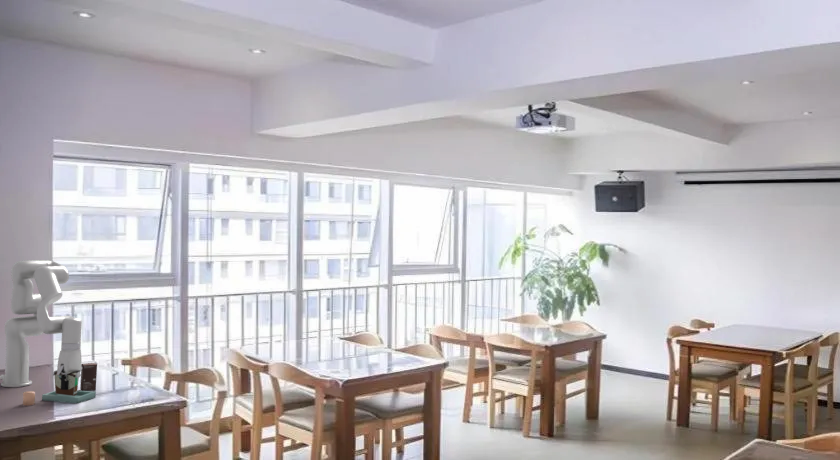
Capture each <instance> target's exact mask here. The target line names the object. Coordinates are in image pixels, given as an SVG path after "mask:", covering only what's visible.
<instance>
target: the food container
mask: <svg viewBox="0 0 840 460" xmlns="http://www.w3.org/2000/svg"><path fill="white" fill-rule="evenodd" d="M57 373H58V372H57V369H56V370H54V371H53V375H52V376H53V377H54V389H55V390H54V391H55V393H56V394H60V395H68V396H75V395H77V390H78V388H79V378H81V372H79V370H78V371H77V372H73V373H69V375H68V381H69V382H68V390H61V380H60V378H59V377H58V376H57ZM64 373H65V372H64ZM64 376H66V375H64Z"/></svg>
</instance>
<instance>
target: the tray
mask: <svg viewBox="0 0 840 460" xmlns="http://www.w3.org/2000/svg"><path fill="white" fill-rule="evenodd" d="M96 393H97V392H96V391H91V390H88V391H81V390H78V389H77V395H75V396H68V395H60V394H56V393H55V390H53V391H49V392H47V393H43V394H41V395H42V396H41V401H46V402H55V403H56V402H58V403H68V404H69V403H70V404H71V403H72V404H80V403H83V402H86V401H89V400H91V399H94V398H96V395H97V394H96Z"/></svg>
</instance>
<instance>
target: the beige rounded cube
mask: <svg viewBox="0 0 840 460" xmlns="http://www.w3.org/2000/svg"><path fill="white" fill-rule="evenodd" d="M35 404H36V391H33V390H29V391H24V392H23V393H22V406H26V407H27V406H28V407H29V406H33V405H35Z"/></svg>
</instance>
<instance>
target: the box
mask: <svg viewBox="0 0 840 460" xmlns="http://www.w3.org/2000/svg"><path fill="white" fill-rule="evenodd" d="M81 366H82V370H81V372H80V375H81V376H80V387H79V391H96V390H97V374H98V364H97V363H96V362H87V363H81Z"/></svg>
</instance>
